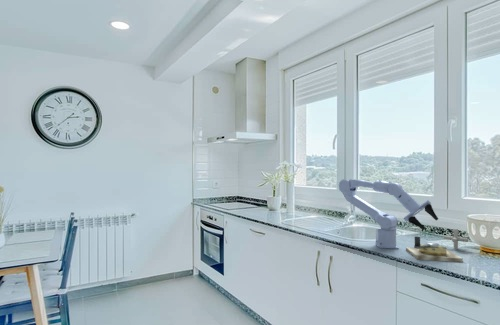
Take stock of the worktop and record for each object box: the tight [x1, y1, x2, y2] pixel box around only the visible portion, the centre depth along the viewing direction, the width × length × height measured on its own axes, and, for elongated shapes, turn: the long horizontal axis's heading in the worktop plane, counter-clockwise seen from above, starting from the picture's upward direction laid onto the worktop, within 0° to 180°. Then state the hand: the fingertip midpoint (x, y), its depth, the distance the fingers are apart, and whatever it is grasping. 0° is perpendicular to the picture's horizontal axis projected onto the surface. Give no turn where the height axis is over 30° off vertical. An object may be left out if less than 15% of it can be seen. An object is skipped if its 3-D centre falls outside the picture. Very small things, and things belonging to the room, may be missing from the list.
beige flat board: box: [405, 246, 464, 263], centre depth 144 cm, size 18×16×2 cm
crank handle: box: [413, 236, 448, 256], centre depth 143 cm, size 16×11×8 cm
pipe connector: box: [443, 228, 469, 250], centre depth 156 cm, size 10×10×10 cm
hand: (431, 224), depth 147 cm, fingers open, 7 cm apart
